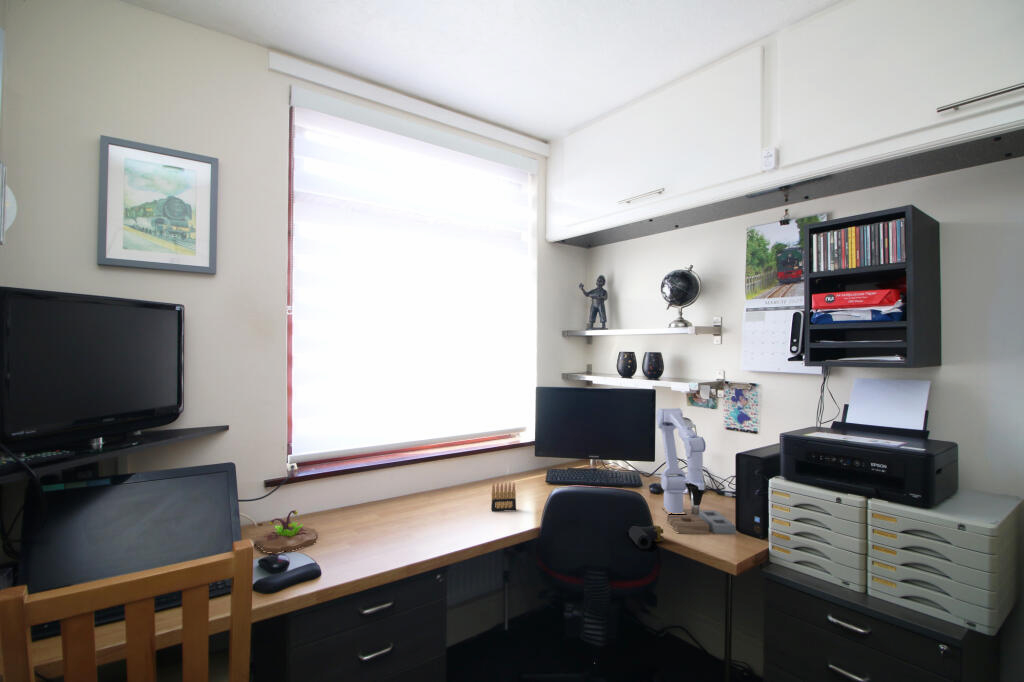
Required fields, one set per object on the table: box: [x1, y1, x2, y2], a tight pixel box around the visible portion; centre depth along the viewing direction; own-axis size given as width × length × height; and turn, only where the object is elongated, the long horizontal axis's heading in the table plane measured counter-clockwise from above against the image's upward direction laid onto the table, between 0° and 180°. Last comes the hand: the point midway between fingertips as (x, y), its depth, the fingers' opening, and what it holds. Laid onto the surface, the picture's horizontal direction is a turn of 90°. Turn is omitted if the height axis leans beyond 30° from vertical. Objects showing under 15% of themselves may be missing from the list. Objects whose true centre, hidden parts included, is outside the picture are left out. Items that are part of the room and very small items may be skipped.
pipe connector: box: [628, 525, 665, 550], centre depth 179 cm, size 12×5×15 cm
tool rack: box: [698, 509, 737, 535], centre depth 195 cm, size 18×8×3 cm, turn 0°
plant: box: [254, 509, 319, 553], centre depth 177 cm, size 20×20×11 cm
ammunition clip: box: [490, 481, 517, 512], centre depth 214 cm, size 11×2×12 cm, turn 98°
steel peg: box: [690, 492, 700, 515], centre depth 192 cm, size 3×3×9 cm
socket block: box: [666, 514, 710, 534], centre depth 192 cm, size 12×12×3 cm
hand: (695, 503), depth 192 cm, fingers closed on steel peg, 3 cm apart
